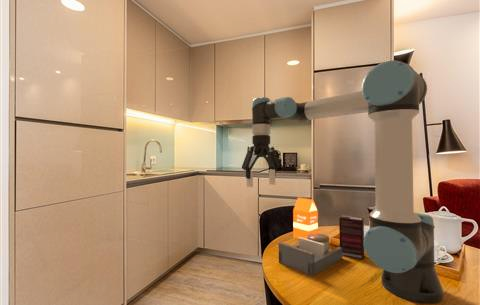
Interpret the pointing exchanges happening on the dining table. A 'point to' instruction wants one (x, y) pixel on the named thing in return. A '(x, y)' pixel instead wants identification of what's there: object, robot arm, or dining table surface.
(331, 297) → the dining table surface
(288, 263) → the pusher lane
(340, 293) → the dining table surface
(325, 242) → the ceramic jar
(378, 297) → the dining table surface
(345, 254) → the supplement box
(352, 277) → the dining table surface
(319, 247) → the plate
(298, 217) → the orange juice
